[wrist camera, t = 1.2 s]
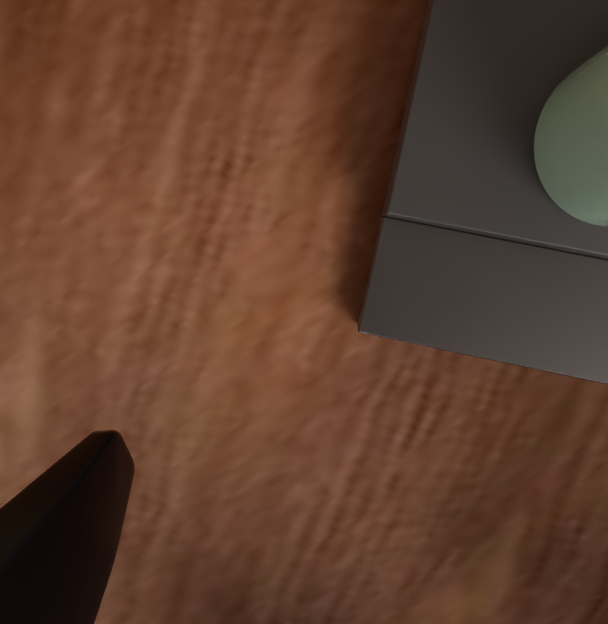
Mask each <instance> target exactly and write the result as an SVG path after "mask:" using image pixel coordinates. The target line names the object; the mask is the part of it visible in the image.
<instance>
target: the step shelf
mask: <svg viewBox="0 0 608 624" xmlns="http://www.w3.org/2000/svg"><path fill="white" fill-rule="evenodd" d="M607 45H608V0H428V5H427V9H426V14H425V18H424V23H423V27H422V32H421V37H420V41H419V46H418V50H417V55H416V59H415V64H414V69H413V73H412V78H411V82H410V87H409V91H408V96H407V101H406V105H405V110H404V114H403V119H402V123H401V128H400V133H399V137H398V142H397V146H396V151H395V155H394V160H393V165H392V169H391V174H390V178H389V183H388V187H387V192H386V197H385V201H384V206H383V210H382V218H381V219H380V224H379V229H378V233H377V238H376V242H375V247H374V251H373V256H372V261H371V265H370V270H369V274H368V279H367V283H366V288H365V293H364V297H363V302H362V306H361V311H360V315H359V320H358V332H360V333H365V334H370V335H375V336H379V337H384V338H389V339H394V340H398V341H403V342H408V343H413V344H417V345H422V346H427V347H432V348H436V349H441V350H446V351H451V352H455V353H460V354H465V355H470V356H475V357H479V358H484V359H489V360H494V361H498V362H503V363H508V364H513V365H517V366H522V367H527V368H532V369H536V370H541V371H546V372H551V373H555V374H560V375H565V376H570V377H574V378H579V379H584V380H589V381H593V382H598V383H603V384H608V227H606V226H598V225H594V224H590V223H586V222H584V221H581V220H579V219H576V218H575V217H573V216H571V215H570V214H568V213H566V212H565V211H564V210H563V209H561V208H560V207H559V206H558V205H557V204H556V203H555V202H554V201H553V200H552V199H551V197H550V196H549V195H548V193H547V192H546V190H545V189H544V187H543V185H542V183H541V181H540V178H539V175H538V173H537V170H536V165H535V160H534V137H535V131H536V126H537V123H538V120H539V117H540V114H541V112H542V110H543V107H544V105H545V103H546V101H547V100H548V98H549V97H550V95H551V94H552V92H553V91H554V89H555V88H556V87H557V86H558V85H559V83H560V82H561V81H562V80H563V79H564V78H565V77H566V76H567V75H568V74H569V73H571V72H572V71H573V70H575V69H576V68H577V67H578V66H580V65H581V64H582V63H584V62H585V61H587V60H588V59H589V58H591V57H592V56H593V55H595V54H596V53H597V52H599V51H600V50H601V49H603V48H604V47H605V46H607Z"/></svg>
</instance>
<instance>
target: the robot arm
mask: <svg viewBox="0 0 608 624" xmlns="http://www.w3.org/2000/svg"><path fill="white" fill-rule="evenodd" d="M133 477H134V461H133V459H132V457H131V454H130V452H129V450H128V448H127V446H126V444H125V442H124V440H123V438H122V436H121V434H120V433H119V432H118V431H115V430H107V431H95V432H93V433H91V434H90V435H88V436H87V437H86V438H85V439H84V440H82V441H81V442H80V443H79V444H78V445H76V446H75V447H74V448H73V449H72V450H70V451H69V452H68V453H67V454H66V455H64V456H63V457H62V458H61V459H60V460H58V461H57V462H56V463H55V464H53V465H52V466H51V467H50V468H49V469H47V470H46V471H45V472H44V473H43V474H41V475H40V476H39V477H38V478H37V479H35V480H34V481H33V482H32V483H31V484H29V485H28V486H27V487H26V488H25V489H23V490H22V491H21V492H20V493H19V494H17V495H16V496H15V497H14V498H13V499H11V500H10V501H9V502H8V503H7V504H5V505H4V506H3V507H2V508H1V509H0V624H94V622H95V619H96V616H97V613H98V610H99V607H100V604H101V601H102V598H103V595H104V592H105V589H106V586H107V583H108V580H109V577H110V574H111V570H112V567H113V564H114V561H115V557H116V553H117V549H118V545H119V540H120V536H121V531H122V527H123V522H124V518H125V513H126V509H127V504H128V500H129V495H130V490H131V486H132V481H133Z"/></svg>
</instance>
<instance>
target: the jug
mask: <svg viewBox="0 0 608 624" xmlns="http://www.w3.org/2000/svg"><path fill="white" fill-rule="evenodd" d="M534 160H535V165H536V170H537V173H538V175H539V178H540V181H541V183H542V185H543V187H544V189H545V190H546V192H547V193H548V195H549V196H550V197H551V199H552V200H553V201H554V202H555V203H556V204H557V205H558V206H559V207H560V208H561V209H563V210H564V211H565V212H566V213H568V214H570V215H571V216H573V217H575V218H576V219H579V220H581V221H584V222H586V223H590V224H594V225H598V226H606V227H608V45H607V46H605V47H604V48H603V49H601V50H600V51H599V52H597V53H596V54H595V55H593V56H592V57H591V58H589V59H588V60H587V61H585V62H584V63H582V64H581V65H580V66H578V67H577V68H576V69H575V70H573V71H572V72H571V73H569V74H568V75H567V76H566V77H565V78H564V79H563V80H562V81H561V82H560V83H559V85H558V86H557V87H556V88H555V89H554V91H553V92H552V94H551V95H550V97H549V98H548V100H547V101H546V103H545V105H544V107H543V110H542V112H541V114H540V117H539V120H538V123H537V126H536V131H535V137H534Z"/></svg>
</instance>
